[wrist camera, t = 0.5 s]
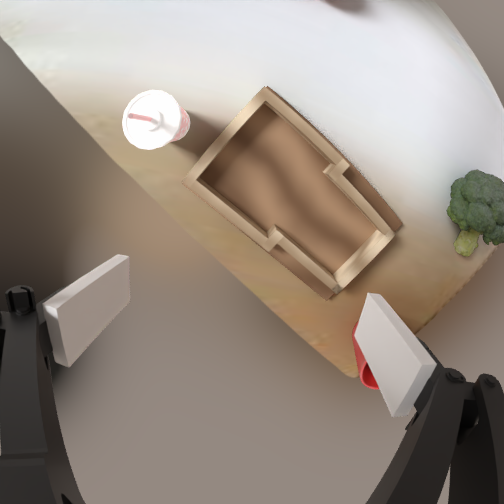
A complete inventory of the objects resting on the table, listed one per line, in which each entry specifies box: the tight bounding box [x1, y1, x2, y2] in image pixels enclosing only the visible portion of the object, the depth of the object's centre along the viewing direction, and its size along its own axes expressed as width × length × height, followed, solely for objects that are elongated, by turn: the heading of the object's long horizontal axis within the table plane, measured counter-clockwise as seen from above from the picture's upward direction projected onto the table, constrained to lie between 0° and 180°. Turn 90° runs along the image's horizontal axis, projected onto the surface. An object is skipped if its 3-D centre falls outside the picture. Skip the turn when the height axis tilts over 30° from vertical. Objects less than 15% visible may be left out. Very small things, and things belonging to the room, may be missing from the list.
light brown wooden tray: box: [181, 86, 402, 301], centre depth 34 cm, size 16×26×4 cm, turn 49°
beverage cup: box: [122, 90, 190, 150], centre depth 26 cm, size 6×6×14 cm
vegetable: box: [447, 170, 504, 256], centre depth 32 cm, size 12×13×15 cm
